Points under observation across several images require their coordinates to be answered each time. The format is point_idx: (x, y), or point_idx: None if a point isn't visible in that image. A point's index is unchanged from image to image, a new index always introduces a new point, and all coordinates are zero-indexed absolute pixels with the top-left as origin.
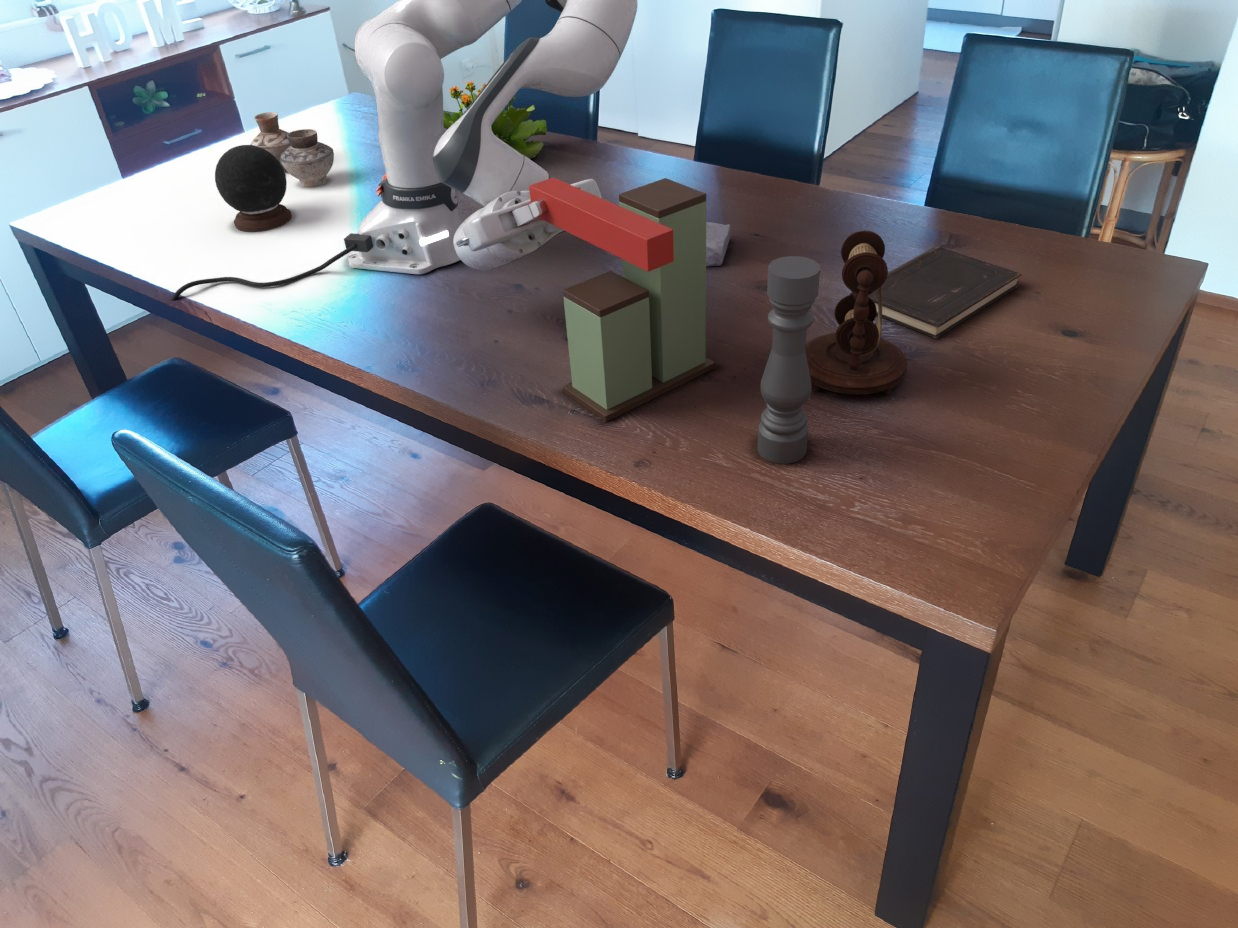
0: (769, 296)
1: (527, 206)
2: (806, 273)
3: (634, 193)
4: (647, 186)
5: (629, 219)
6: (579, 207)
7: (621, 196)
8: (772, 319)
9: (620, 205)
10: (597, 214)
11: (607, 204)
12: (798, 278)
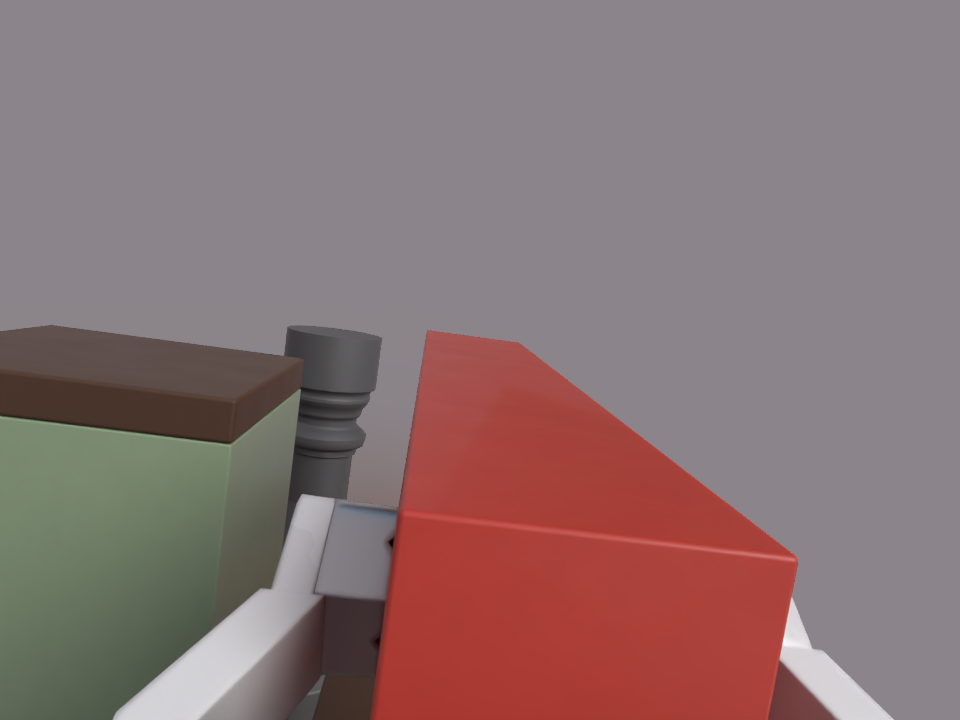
0: (370, 389)
1: (826, 667)
2: (342, 330)
3: (183, 379)
4: (46, 368)
5: (476, 348)
6: (573, 387)
7: (244, 399)
8: (359, 433)
9: (233, 459)
10: (543, 369)
11: (450, 363)
12: (366, 333)
